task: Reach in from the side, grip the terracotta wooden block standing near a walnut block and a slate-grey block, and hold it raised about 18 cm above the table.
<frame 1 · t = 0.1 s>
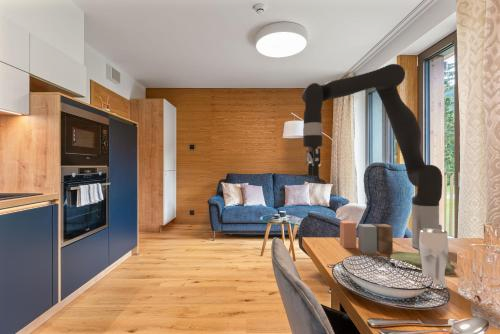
hand: (313, 175, 112), 29 cm above the table, tool pointing down, fingers open, 8 cm apart
washcloth: (419, 266, 93), on the table
slate-grey block: (367, 251, 108), on the table
terracotta block: (348, 246, 115), on the table
walnut block: (382, 251, 108), on the table
beer glass: (433, 285, 77), on the table
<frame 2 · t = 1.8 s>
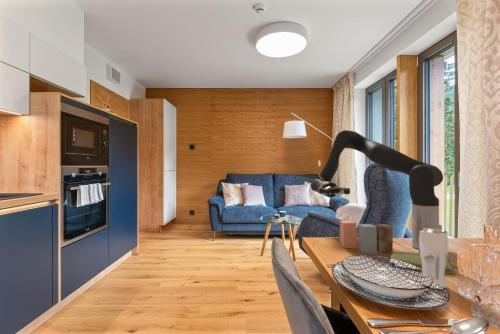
hand: (338, 192, 127), 21 cm above the table, tool horizontal, fingers open, 8 cm apart
nothing on the table moved.
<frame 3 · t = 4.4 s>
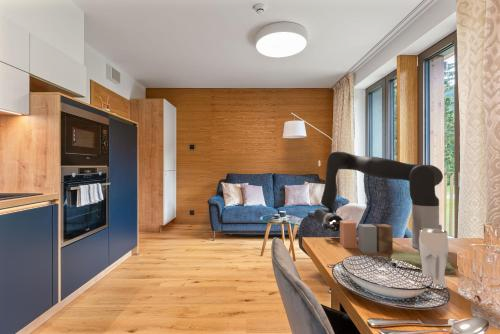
hand: (344, 228, 120), 6 cm above the table, tool horizontal, fingers open, 8 cm apart
nothing on the table moved.
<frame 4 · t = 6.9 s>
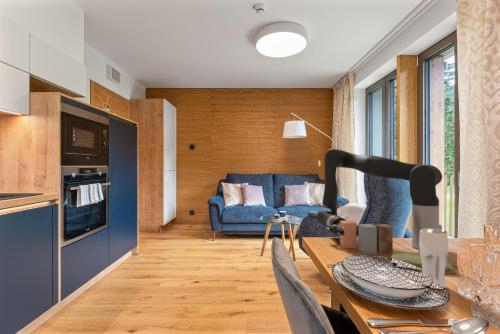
hand: (350, 232, 112), 6 cm above the table, tool horizontal, fingers closed on terracotta block, 5 cm apart
terracotta block: (348, 246, 115), on the table, touching gripper
everything else where it was.
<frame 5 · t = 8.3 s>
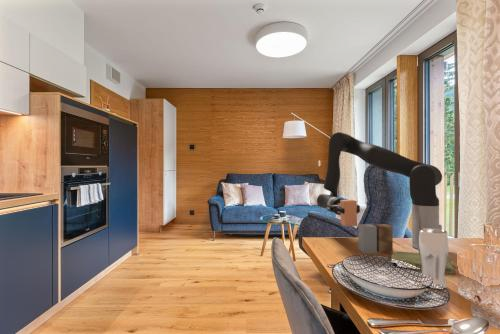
hand: (350, 210, 112), 15 cm above the table, tool horizontal, fingers closed on terracotta block, 5 cm apart
terracotta block: (348, 224, 115), point 9 cm above the table, touching gripper
everything else where it was.
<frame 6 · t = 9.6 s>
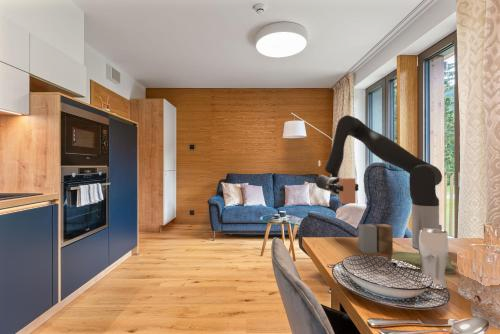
hand: (349, 188, 113), 24 cm above the table, tool horizontal, fingers closed on terracotta block, 5 cm apart
terracotta block: (347, 202, 116), point 18 cm above the table, touching gripper
everything else where it was.
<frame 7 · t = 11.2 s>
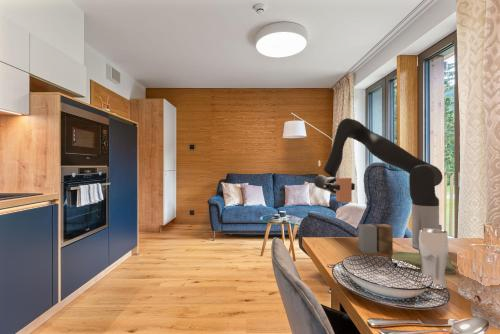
hand: (345, 187, 117), 24 cm above the table, tool horizontal, fingers closed on terracotta block, 5 cm apart
terracotta block: (343, 201, 120), point 18 cm above the table, touching gripper
everything else where it was.
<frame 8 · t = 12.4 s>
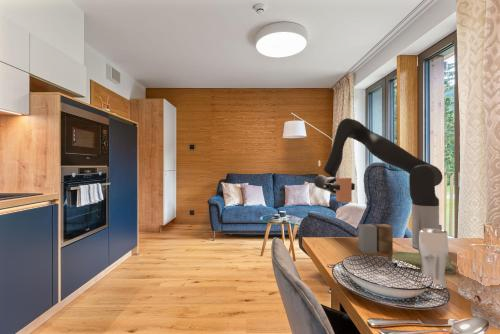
hand: (345, 187, 117), 24 cm above the table, tool horizontal, fingers closed on terracotta block, 5 cm apart
terracotta block: (343, 201, 120), point 18 cm above the table, touching gripper
everything else where it was.
at the end: the gripper is holding terracotta block; terracotta block point 17.8 cm above the table; slate-grey block moved 0.0 cm from its start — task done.
